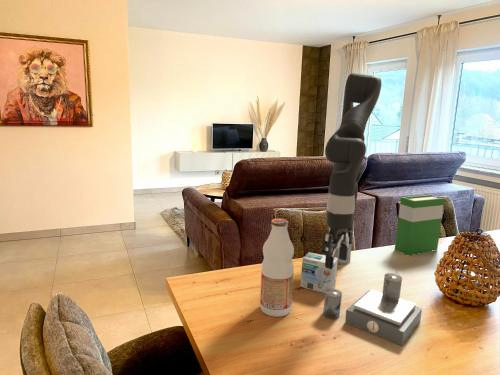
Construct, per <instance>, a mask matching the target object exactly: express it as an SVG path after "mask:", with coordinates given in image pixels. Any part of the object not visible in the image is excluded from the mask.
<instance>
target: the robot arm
mask: <svg viewBox="0 0 500 375" xmlns="http://www.w3.org/2000/svg"><path fill="white" fill-rule="evenodd" d="M381 90H382V79H381V77H379V76H378V75H372V74H364V73H356V72H353V73H352V72H351V73H349V75H348V76H347V79H346V81H345V85H344V91H343V92H344V93H343V102H342V103H343V104H342V112H341V113H342V114H341V120H340V125H339V128H337V130H336V131H335V132H334V133H333V134H332V135H331V136H330V138H329V139H328V141H327V142H326V146H325V148H324V155H325V157H326V159H327V161H328V162H330V163H333V169H332V172H331V175H330V177H329V185H328V191H327V192H328V193H327V194H328V195H327V196H328V197H327V202H326V216H325V225H326V226H328V227H329V229H328V233H323V234H322V241H321V255H325V256H326V258H325V267H326V268H328V269H332V268H333V263H334V257H335V258H338V261H337V265H344V264H345V265H346V264H349V263H350V262H351V257H352V255H351V253H352V246H353V244H352V243H353V236H354V235H353V234H354V222H355V215H356V214H355V213H356V205H357V204H356V203H357V199H358V192H359V190H358V188H359V186H358V185H359V184H358V183H357V179H358V174H359V171H360V169H361V165H362V163H363V161H364V158H365V155H366V152H367V145H366V144H365V139H366V138H365V130H366V127H367V124H368V121H369V118H370V117H371V115H372V114H373V111H374V109H375V106H376V105H377V103H378V101H379V97H380V95H381V94H380V93H381ZM354 104H357V105H354Z"/></svg>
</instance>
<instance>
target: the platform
mask: <svg viewBox="0 0 500 375" xmlns="http://www.w3.org/2000/svg"><path fill="white" fill-rule="evenodd" d="M369 291H370V292H368V291H367V292H368V293H367V292H366V293H367V294H366V295H365V296H364V297H363V298H361V297H360V298H361V299H360V298H359V299H360V300H359V301H358V302H357V303H356V304H354V303H353V304H354V309H356V310H359V311H361V312H364V313H366V314H369V315H372V316H374V317H377V318H380V319H382V320H385V321H387V322H390V323H393V324H395V325H398V326H401V324H402V323H403V322H404V321H405V320H406V318H407V317H408V316H409V315H410V313H411V312H412V311H413V310H414V309H415V306H416V305H417V304H416V303H415V302H412V301H408V300H406V299H402V298H400V299H399V302H396V303H392V302H388V301H385V300H384V299H383V298H382V294H383V291H379V290H375V289H373V288H372V289H370V290H369ZM416 307H417V306H416Z"/></svg>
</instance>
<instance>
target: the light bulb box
mask: <svg viewBox="0 0 500 375" xmlns="http://www.w3.org/2000/svg"><path fill="white" fill-rule="evenodd" d="M325 258H326V256H325V255H322V254H320V253H314V252H311V251H308V252H307V253H306V254H305V255H304V256H303V257H302V259H301V261H302V262H301V277H300V287H301V288H305V289H308V290H312V291H316V292H319V293H322V294H325V291H326V289H336V284H337V283H336V282H337V271H338V264H337V261H338V258H335V257H334V263H333V268H332V269H328V268H326V267H325Z"/></svg>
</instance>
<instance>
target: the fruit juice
mask: <svg viewBox="0 0 500 375" xmlns="http://www.w3.org/2000/svg"><path fill="white" fill-rule="evenodd" d="M270 224H271V230H270V232H269V236H268V238H267V239H266V241H265V242H264V243H263V247H262V254H263V260H262V264H261V276H260V296H259V297H260V300H259V307H260V311H261V312H262V313H263V314H265V315H267V316H270V317H275V318H276V317H277V318H280V317H285V316H287V315H288V314H290V312H291V310H292V301H293V298H292V297H293V296H292V295H293V285H294V284H293V283H294V282H293V281H294V262H293V258H294V255H295V254H294V253H295V248H294V244H293V243H292V241H291V239H290V235H289V231H288V227H289V220H288V219H285V218H273V219H272V220H271V222H270Z"/></svg>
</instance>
